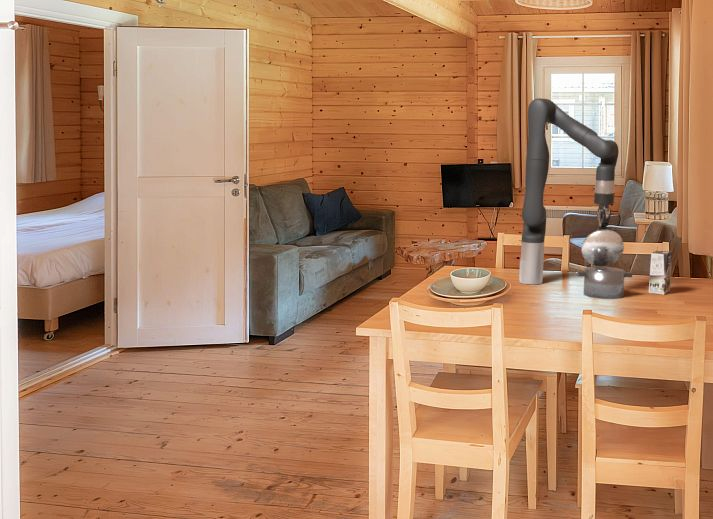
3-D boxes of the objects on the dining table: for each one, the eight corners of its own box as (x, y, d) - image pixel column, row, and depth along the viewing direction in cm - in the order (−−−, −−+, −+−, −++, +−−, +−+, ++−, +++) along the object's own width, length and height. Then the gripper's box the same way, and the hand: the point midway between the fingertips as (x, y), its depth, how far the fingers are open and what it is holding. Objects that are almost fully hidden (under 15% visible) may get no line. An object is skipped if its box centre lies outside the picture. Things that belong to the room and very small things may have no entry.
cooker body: (580, 298, 348) (582, 272, 346) (571, 289, 365) (572, 265, 363) (635, 299, 347) (636, 273, 346) (623, 290, 364) (624, 266, 363)
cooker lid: (585, 231, 352) (583, 226, 355) (579, 265, 361) (578, 261, 364) (626, 231, 352) (624, 226, 355) (620, 266, 361) (618, 261, 364)
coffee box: (664, 294, 357) (667, 254, 354) (648, 293, 360) (650, 252, 358) (670, 291, 364) (673, 251, 362) (653, 289, 368) (656, 249, 365)
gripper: (590, 190, 362) (588, 233, 365) (598, 193, 349) (596, 238, 352) (609, 190, 362) (607, 234, 365) (618, 193, 349) (616, 238, 352)
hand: (602, 236), depth 359 cm, fingers closed
